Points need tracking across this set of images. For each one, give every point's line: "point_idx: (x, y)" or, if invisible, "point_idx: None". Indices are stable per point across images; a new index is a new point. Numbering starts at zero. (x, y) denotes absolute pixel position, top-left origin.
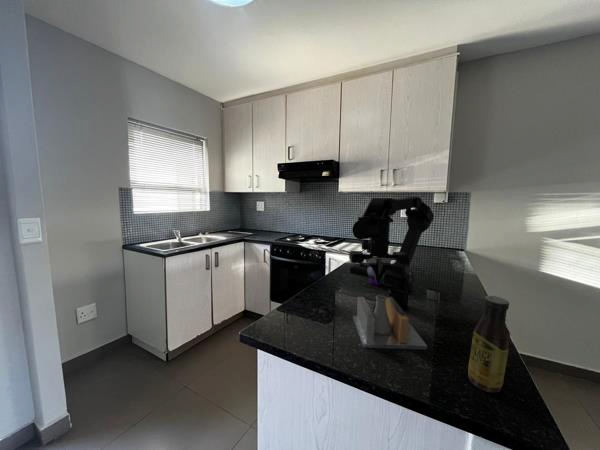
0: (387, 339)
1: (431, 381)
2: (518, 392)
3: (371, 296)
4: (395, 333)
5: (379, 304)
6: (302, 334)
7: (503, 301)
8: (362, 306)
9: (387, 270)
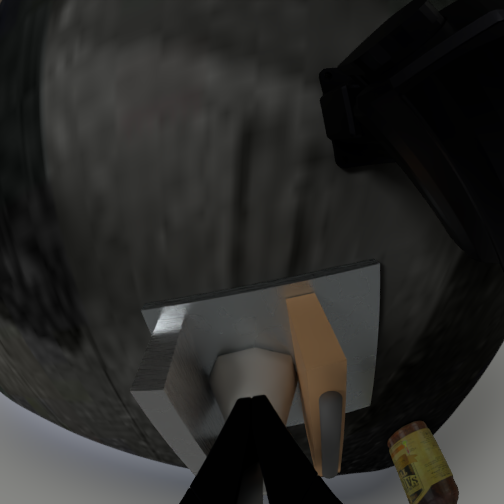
0: None
1: None
2: (435, 424)
3: (233, 10)
4: (301, 401)
5: None
6: (60, 396)
7: None
8: (179, 455)
9: (477, 86)
